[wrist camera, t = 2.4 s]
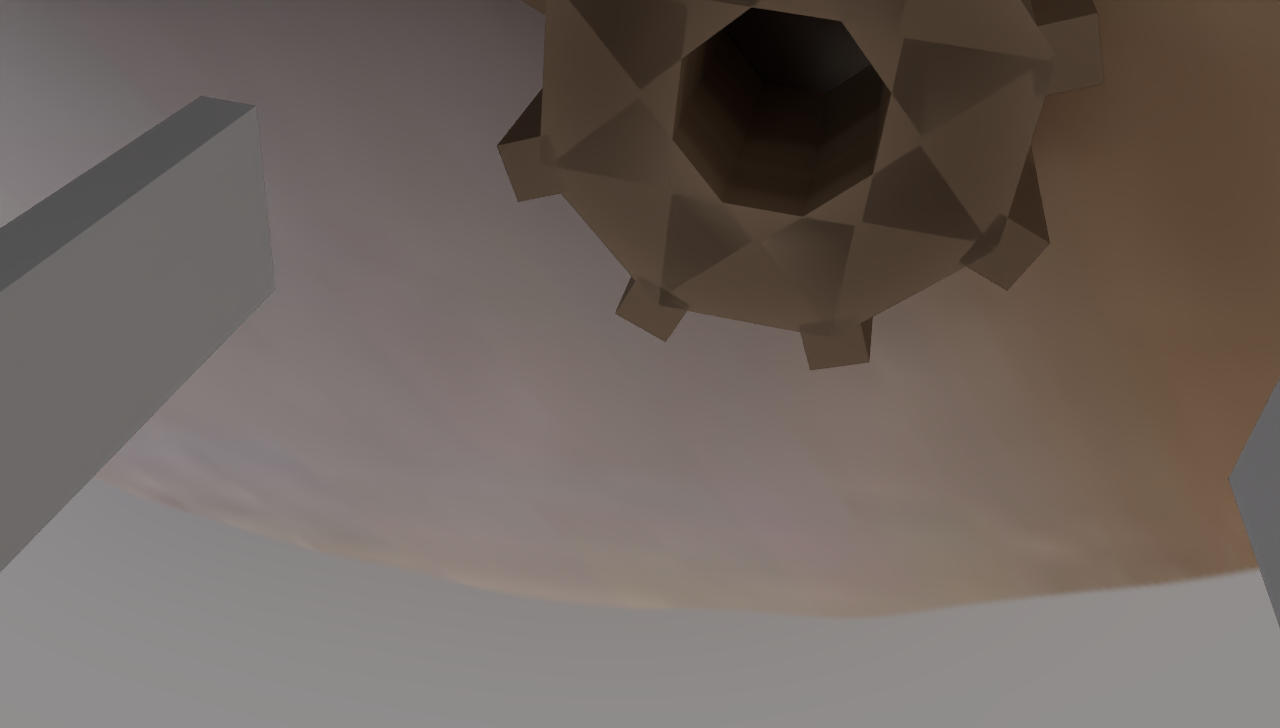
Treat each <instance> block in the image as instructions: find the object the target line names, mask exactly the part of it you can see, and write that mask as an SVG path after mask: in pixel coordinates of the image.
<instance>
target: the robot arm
mask: <svg viewBox="0 0 1280 728" xmlns="http://www.w3.org/2000/svg"><path fill="white" fill-rule="evenodd" d="M274 290H275V281H274V271H273V262H272V253H271V243H270V234H269V224H268V215H267V205H266V196H265V186H264V177H263V167H262V158H261V148H260V139H259V129H258V120H257V110H256V106H254V105H248V104H242V103H237V102H231V101H226V100H220V99H214V98H209V97H203V96H200V97H199V98H197V99H196V100H194V101H193V102H191V103H190V104H188V105H187V106H185V107H184V108H182V109H181V110H179V111H178V112H176V113H175V114H173V115H172V116H170V117H169V118H167V119H166V120H164V121H163V122H161V123H160V124H158V125H156V126H155V127H153V128H152V129H150V130H149V131H147V132H146V133H144V134H143V135H141V136H140V137H138V138H137V139H135V140H134V141H132V142H131V143H129V144H128V145H126V146H125V147H123V148H122V149H120V150H119V151H117V152H116V153H114V154H113V155H111V156H110V157H108V158H106V159H105V160H103V161H102V162H100V163H99V164H97V165H96V166H94V167H93V168H91V169H90V170H88V171H87V172H85V173H84V174H82V175H81V176H79V177H78V178H76V179H75V180H73V181H72V182H70V183H69V184H67V185H66V186H64V187H63V188H61V189H60V190H58V191H56V192H55V193H53V194H52V195H50V196H49V197H47V198H46V199H44V200H43V201H41V202H40V203H38V204H37V205H35V206H34V207H32V208H31V209H29V210H28V211H26V212H25V213H23V214H22V215H20V216H19V217H17V218H16V219H14V220H13V221H11V222H10V223H8V224H6V225H5V226H3V227H2V228H0V572H1V571H2V570H3V569H4V568H5V567H6V566H7V565H8V564H9V563H10V562H11V561H12V560H13V559H14V558H15V556H17V555H18V554H19V552H21V550H22V549H23V548H24V547H25V546H26V545H27V544H28V543H29V542H30V541H31V540H32V539H33V538H34V537H35V536H36V535H37V534H38V533H39V532H40V531H41V530H42V529H43V528H44V527H45V526H46V525H47V524H48V523H49V522H50V521H51V520H52V519H53V518H54V517H55V515H56V514H57V513H58V512H59V511H60V510H61V509H62V508H63V507H64V506H65V505H66V504H67V503H68V502H69V501H70V500H71V499H72V498H73V497H74V496H75V495H76V494H77V493H78V492H79V491H80V490H81V489H82V487H83V486H85V485H86V484H87V483H88V481H89V480H90V479H91V478H92V477H93V476H94V475H95V474H96V473H97V472H98V471H99V470H100V469H101V468H102V467H103V466H104V465H105V464H106V463H107V462H108V461H109V460H110V459H111V458H112V457H113V456H114V455H115V454H116V453H117V452H118V451H119V450H120V449H121V448H122V446H123V445H124V444H125V443H126V442H127V441H128V440H129V439H130V438H131V437H132V436H133V435H134V434H135V433H136V432H137V431H138V430H139V429H140V428H141V427H142V426H143V425H144V424H145V423H146V422H147V421H148V420H149V419H150V418H151V417H152V416H153V415H154V414H155V412H156V411H157V410H158V409H159V408H160V407H161V406H162V405H163V404H164V403H165V402H166V401H167V400H168V399H169V398H170V397H171V396H172V395H173V394H174V393H175V392H176V391H177V390H178V389H179V388H180V387H181V386H182V385H183V384H184V383H185V382H186V381H187V380H188V379H189V377H190V376H191V375H192V374H193V373H194V372H195V371H196V370H197V369H198V368H199V367H200V366H201V365H202V364H203V363H204V362H205V361H206V360H207V359H208V358H209V357H210V356H211V355H212V354H213V353H214V352H215V351H216V350H217V349H218V348H219V347H220V346H221V345H222V343H223V342H224V341H225V340H226V339H227V338H228V337H229V336H230V335H231V334H232V333H233V332H234V331H235V330H236V329H237V328H238V327H239V326H240V325H241V324H242V323H243V322H244V321H245V320H246V319H247V318H248V317H249V316H250V315H251V314H252V313H253V312H254V311H255V310H256V308H257V307H258V306H259V305H260V304H261V303H262V302H263V301H264V300H265V299H266V298H267V297H268V296H269V295H270V294H271V293H272V292H273V291H274ZM1228 479H1229V482H1230V485H1231V488H1232V491H1233V494H1234V496H1235V499H1236V502H1237V505H1238V508H1239V511H1240V514H1241V517H1242V520H1243V522H1244V525H1245V528H1246V531H1247V534H1248V537H1249V540H1250V543H1251V546H1252V548H1253V551H1254V554H1255V557H1256V560H1257V563H1258V566H1259V569H1260V572H1261V574H1262V577H1263V580H1264V583H1265V586H1266V589H1267V591H1268V595H1269V598H1270V600H1271V603H1272V606H1273V609H1274V612H1275V615H1276V618H1277V621H1278V623H1279V626H1280V378H1279V380H1278V382H1277V384H1276V386H1275V388H1274V390H1273V392H1272V394H1271V396H1270V398H1269V400H1268V402H1267V404H1266V406H1265V408H1264V410H1263V412H1262V414H1261V416H1260V418H1259V420H1258V422H1257V424H1256V425H1255V427H1254V429H1253V431H1252V433H1251V435H1250V437H1249V439H1248V441H1247V443H1246V445H1245V447H1244V449H1243V451H1242V453H1241V455H1240V457H1239V459H1238V461H1237V463H1236V465H1235V467H1234V469H1233V471H1232V473H1231V475H1230V477H1229V478H1228Z"/></svg>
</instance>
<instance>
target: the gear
mask: <svg viewBox="0 0 1280 728" xmlns="http://www.w3.org/2000/svg"><path fill="white" fill-rule="evenodd" d="M522 1H523V2H525V3H527V4H528V5H530V6H532V7H533V8H535V9H537V10H538V11H540V12H542V13H543V14H545V15H546V23H545V46H544V68H543V88H542V89H541V91H540V92H539V93H538V94H537V96H536V97H535V98H534V99H533V101H532V102H531V103H530V105H529V106H528V107H527V108H526V110H525V111H524V112H523V113H522V115H521V116H520V117H519V118H518V120H517V121H516V122H515V124H514V125H513V126H512V127H511V129H510V130H509V131H508V132H507V134H506V135H505V136H504V137H503V139H502V140H501V141H500V142H499V144H498V145H497V148H498V150H499V153H500V155H501V158H502V161H503V163H504V166H505V169H506V171H507V174H508V176H509V179H510V182H511V184H512V187H513V190H514V192H515V195H516V198H517V200H518V202H520V201H525V200H530V199H535V198H540V197H545V196H550V195H555V194H560V193H561V194H562V195H563V196H564V198H565V199H566V200H567V201H568V202H569V203H570V205H571V206H572V207H573V208H574V209H575V210H576V212H577V213H578V214H579V215H580V216H581V218H582V219H583V220H584V221H585V222H586V223H587V225H588V226H589V227H590V228H591V229H592V230H593V232H594V233H595V234H596V235H597V236H598V237H599V239H600V240H601V241H602V242H603V243H604V245H605V246H606V247H607V248H608V249H609V250H610V252H611V253H612V254H613V255H614V256H615V257H616V259H617V260H618V261H619V262H620V263H621V265H622V266H623V267H624V268H625V269H626V270H627V272H628V273H629V274H630V275H631V278H630V281H629V283H628V285H627V287H626V290H625V292H624V294H623V297H622V299H621V301H620V303H619V306H618V308H617V310H616V313H615V314H617V315H619V316H621V317H622V318H624V319H626V320H628V321H629V322H631V323H633V324H635V325H636V326H638V327H640V328H642V329H643V330H645V331H647V332H649V333H650V334H652V335H654V336H656V337H657V338H659V339H661V340H663V341H664V342H666V341H667V339H668V338H669V336H670V335H671V333H672V332H673V330H674V329H675V327H676V326H677V324H678V323H679V322H680V320H681V319H682V317H683V316H684V314H685V313H686V311H692V312H697V313H703V314H708V315H713V316H718V317H724V318H729V319H734V320H739V321H745V322H750V323H755V324H760V325H766V326H771V327H776V328H781V329H787V330H792V331H797V332H800V333H801V337H802V341H803V344H804V348H805V352H806V356H807V360H808V363H809V367H810V370H815V369H823V368H830V367H837V366H845V365H852V364H860V363H867V362H869V359H870V346H871V332H872V319H873V316H875V315H877V314H879V313H880V312H882V311H884V310H886V309H888V308H890V307H892V306H893V305H895V304H897V303H899V302H901V301H903V300H904V299H906V298H908V297H910V296H912V295H914V294H916V293H917V292H919V291H921V290H923V289H925V288H927V287H929V286H930V285H932V284H934V283H936V282H938V281H940V280H942V279H943V278H945V277H947V276H949V275H951V274H953V273H955V272H956V271H958V270H960V269H962V268H964V267H966V266H967V267H968V268H970V269H972V270H973V271H975V272H977V273H978V274H980V275H982V276H983V277H985V278H987V279H988V280H990V281H992V282H993V283H995V284H997V285H998V286H1000V287H1002V288H1003V289H1005V290H1008V289H1009V288H1010V287H1011V286H1012V285H1013V284H1014V283H1015V282H1016V280H1017V279H1018V278H1019V277H1020V276H1021V275H1022V274H1023V273H1024V272H1025V270H1026V269H1027V268H1028V267H1029V266H1030V265H1031V264H1032V263H1033V262H1034V260H1035V259H1036V258H1037V257H1038V256H1039V255H1040V254H1041V253H1042V251H1043V250H1044V249H1045V248H1046V247H1047V246H1048V245H1049V244H1050V241H1049V236H1048V231H1047V226H1046V221H1045V216H1044V211H1043V205H1042V200H1041V195H1040V190H1039V185H1038V180H1037V174H1036V169H1035V164H1034V159H1033V154H1032V149H1031V141H1032V138H1033V135H1034V131H1035V128H1036V125H1037V122H1038V119H1039V115H1040V112H1041V109H1042V106H1043V103H1044V99H1045V96H1046V95H1051V94H1056V93H1061V92H1066V91H1071V90H1076V89H1081V88H1086V87H1091V86H1096V85H1101V84H1104V75H1103V64H1102V54H1101V43H1100V32H1099V22H1098V13H1097V10H1096V8H1095V6H1094V3H1093V1H1092V0H522ZM751 7H754V8H760V9H766V10H773V11H779V12H785V13H792V14H798V15H805V16H811V17H817V18H824V19H830V20H836V21H841V22H842V23H843V25H844V26H845V27H846V29H847V30H848V32H849V33H850V35H851V36H852V37H853V39H854V40H855V42H856V43H857V45H858V46H859V47H860V49H861V50H862V52H863V53H864V55H865V56H866V57H867V59H868V60H869V62H870V63H871V65H870V66H868V67H867V68H865V69H864V70H862V71H861V72H859V73H858V74H856V75H855V76H853V77H852V78H850V79H849V80H847V81H846V82H844V83H843V84H841V85H840V86H838V87H837V88H835V89H834V90H832V91H831V92H829V93H828V94H826V93H820V92H814V91H808V90H802V89H795V88H789V87H783V86H777V85H771V84H765V83H762V81H761V80H760V79H759V77H758V76H757V75H756V73H755V72H754V71H753V69H752V68H751V66H750V65H749V64H748V62H747V61H746V60H745V58H744V57H743V56H742V54H741V53H740V52H739V50H738V49H737V48H736V46H735V45H734V44H733V42H732V41H731V40H730V38H729V37H728V36H727V34H726V33H725V32H724V27H725V26H727V25H728V24H729V23H731V22H732V21H733V20H735V19H736V18H737V17H739V16H740V15H742V14H743V13H744V12H746V11H747V10H748V9H750V8H751Z"/></svg>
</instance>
